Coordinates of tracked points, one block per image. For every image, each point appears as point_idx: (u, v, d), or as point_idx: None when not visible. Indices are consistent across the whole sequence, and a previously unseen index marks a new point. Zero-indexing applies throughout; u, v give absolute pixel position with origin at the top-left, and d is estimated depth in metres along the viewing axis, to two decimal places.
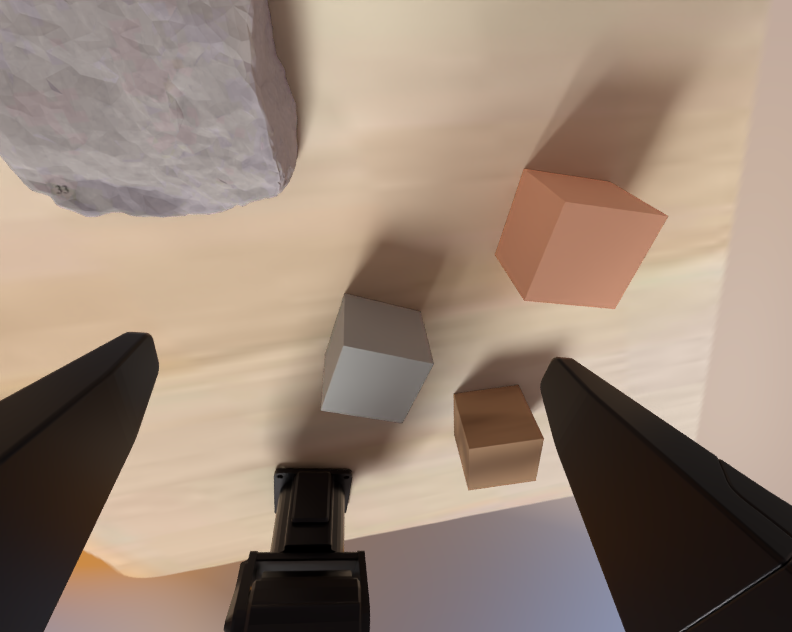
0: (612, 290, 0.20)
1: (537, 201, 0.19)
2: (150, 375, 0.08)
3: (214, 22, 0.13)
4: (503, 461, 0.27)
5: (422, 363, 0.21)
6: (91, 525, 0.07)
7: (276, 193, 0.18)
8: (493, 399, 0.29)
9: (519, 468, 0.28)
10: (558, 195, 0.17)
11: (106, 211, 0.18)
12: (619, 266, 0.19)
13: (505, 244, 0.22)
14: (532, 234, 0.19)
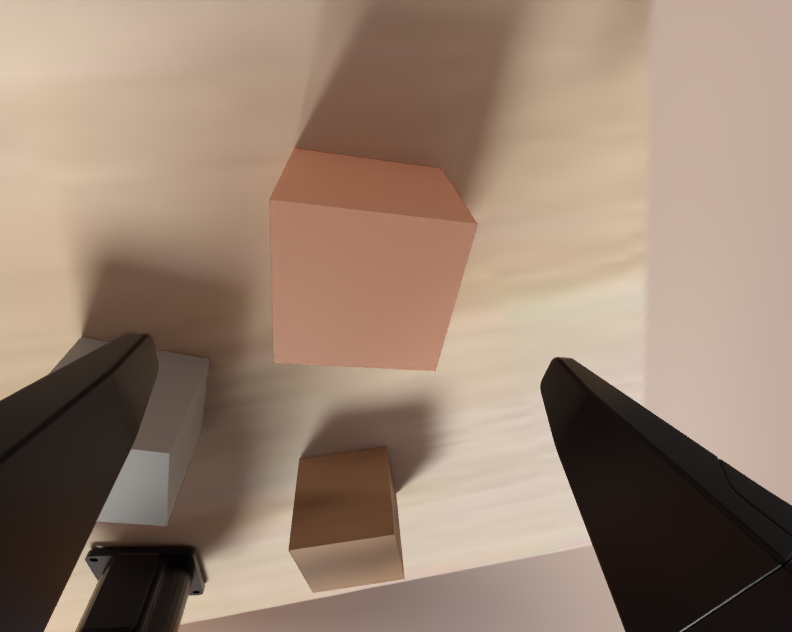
0: (421, 344, 0.12)
1: None
2: (150, 375, 0.08)
3: None
4: (346, 561, 0.20)
5: (151, 453, 0.14)
6: (91, 525, 0.07)
7: None
8: (347, 468, 0.22)
9: (375, 567, 0.20)
10: (278, 188, 0.10)
11: None
12: (418, 307, 0.11)
13: None
14: None
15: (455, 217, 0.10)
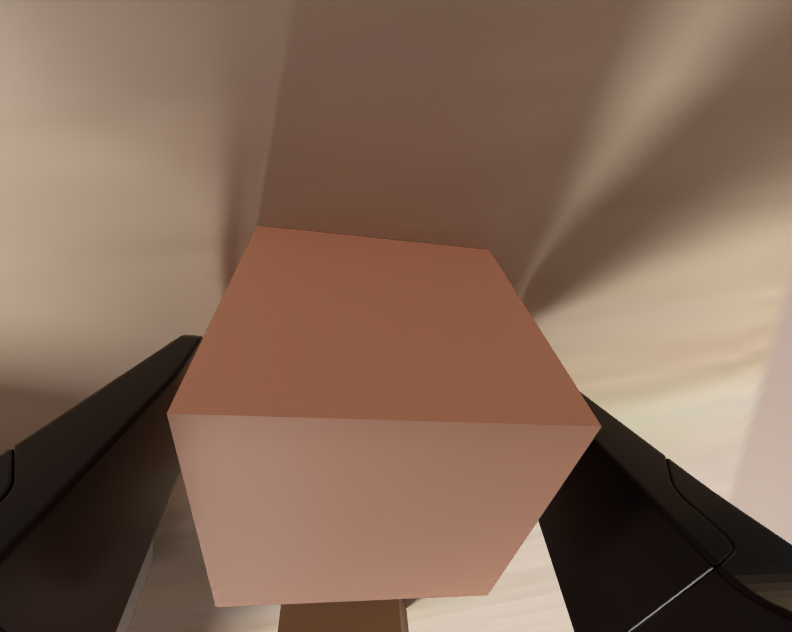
0: (468, 572, 0.07)
1: None
2: None
3: None
4: None
5: None
6: (156, 524, 0.07)
7: None
8: (345, 602, 0.17)
9: None
10: (199, 360, 0.05)
11: None
12: (469, 535, 0.06)
13: None
14: None
15: (554, 409, 0.05)
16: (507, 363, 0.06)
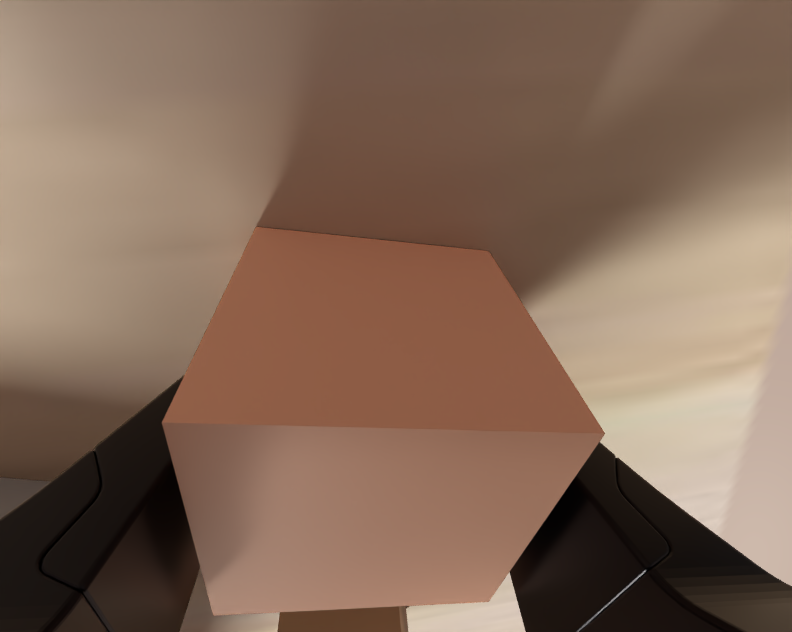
0: (469, 579, 0.07)
1: None
2: None
3: None
4: None
5: None
6: None
7: None
8: None
9: None
10: (195, 367, 0.05)
11: None
12: (470, 542, 0.06)
13: None
14: None
15: (557, 415, 0.05)
16: (509, 368, 0.06)
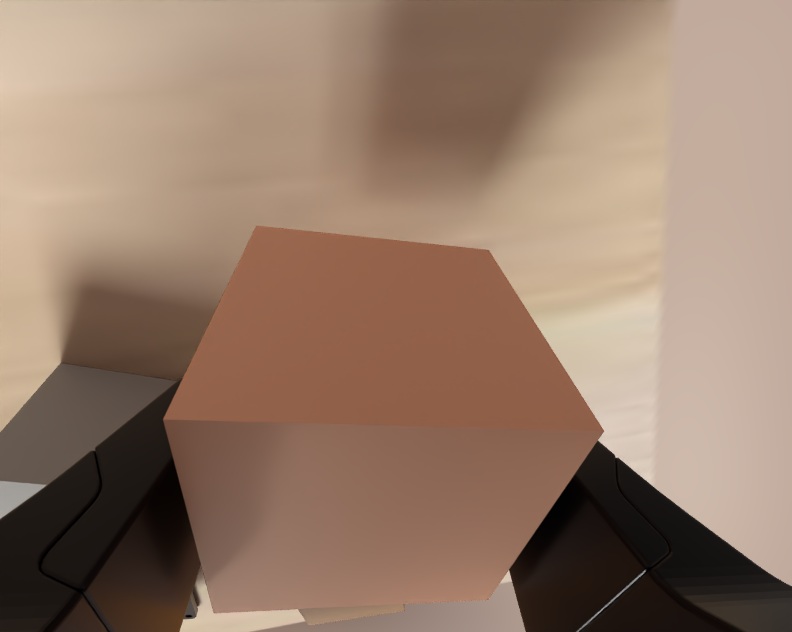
0: (468, 576, 0.07)
1: None
2: None
3: None
4: None
5: None
6: None
7: None
8: None
9: None
10: (196, 365, 0.05)
11: None
12: (470, 540, 0.06)
13: None
14: None
15: (556, 413, 0.05)
16: (508, 367, 0.06)
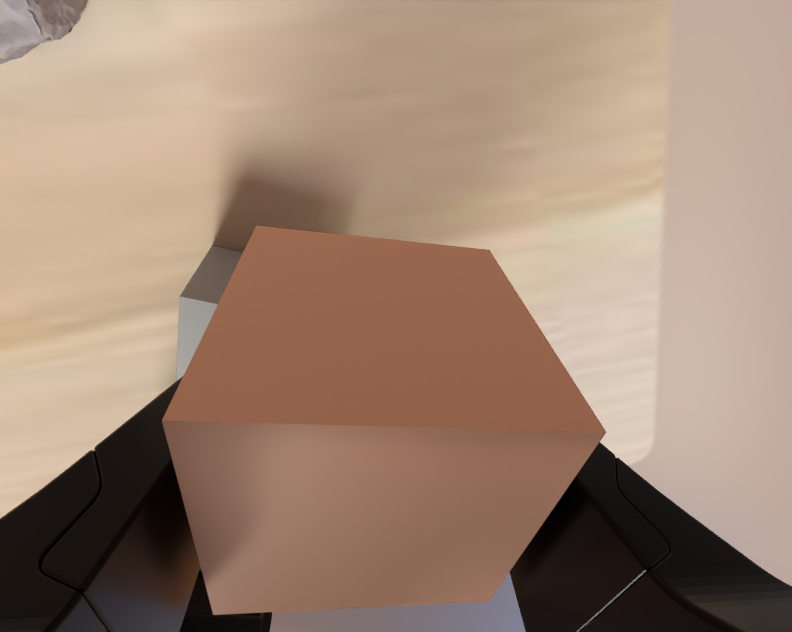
0: (469, 578, 0.07)
1: None
2: None
3: None
4: None
5: None
6: None
7: (37, 32, 0.13)
8: None
9: None
10: (195, 365, 0.05)
11: None
12: (471, 541, 0.06)
13: None
14: None
15: (558, 414, 0.05)
16: (509, 367, 0.06)
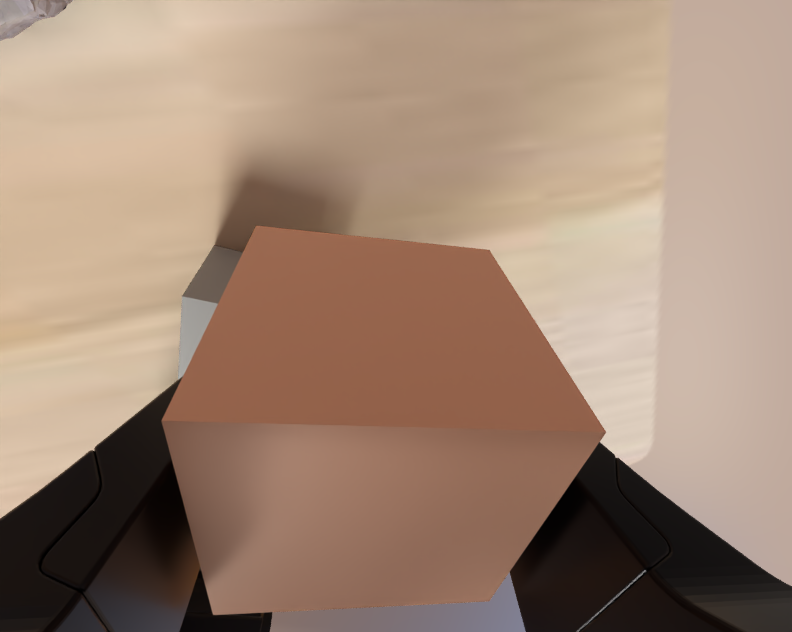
0: (469, 578, 0.07)
1: None
2: None
3: None
4: None
5: None
6: None
7: (29, 7, 0.13)
8: None
9: None
10: (195, 365, 0.05)
11: None
12: (471, 541, 0.06)
13: None
14: None
15: (558, 414, 0.05)
16: (509, 367, 0.06)
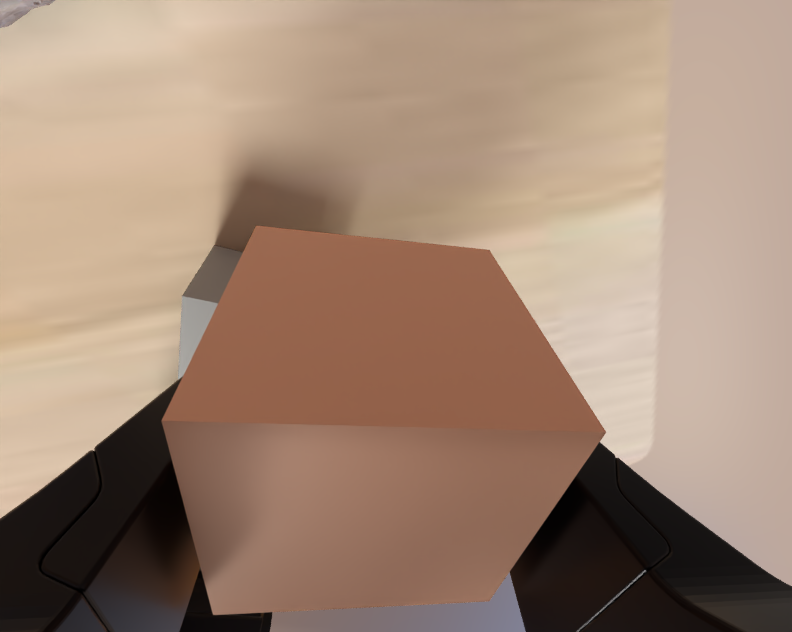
0: (469, 578, 0.07)
1: None
2: None
3: None
4: None
5: None
6: None
7: None
8: None
9: None
10: (195, 365, 0.05)
11: None
12: (471, 541, 0.06)
13: None
14: None
15: (558, 414, 0.05)
16: (509, 367, 0.06)
